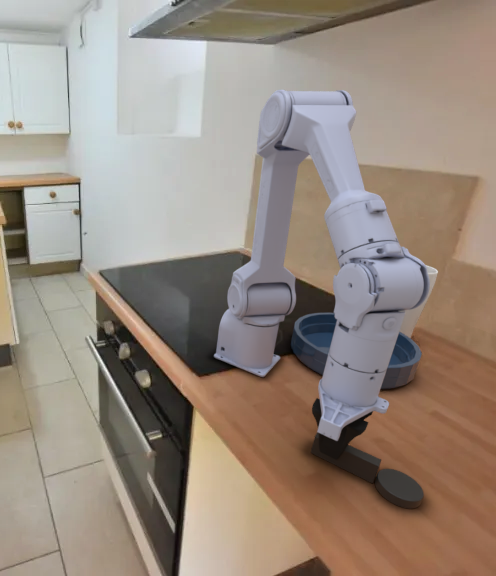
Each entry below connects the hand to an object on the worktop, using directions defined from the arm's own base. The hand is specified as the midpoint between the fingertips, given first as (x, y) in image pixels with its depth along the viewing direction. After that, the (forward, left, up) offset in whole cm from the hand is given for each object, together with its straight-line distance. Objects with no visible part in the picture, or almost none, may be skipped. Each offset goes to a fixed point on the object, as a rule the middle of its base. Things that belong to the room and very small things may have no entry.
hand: (331, 449), depth 48 cm
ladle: (+4, 0, -1) cm, 4 cm away
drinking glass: (+1, +43, -2) cm, 43 cm away
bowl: (-4, +28, -1) cm, 28 cm away
